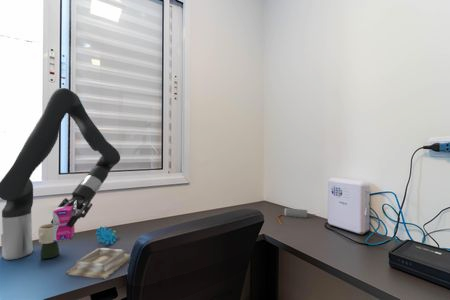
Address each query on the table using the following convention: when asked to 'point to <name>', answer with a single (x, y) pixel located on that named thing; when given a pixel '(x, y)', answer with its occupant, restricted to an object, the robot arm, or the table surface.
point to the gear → (106, 235)
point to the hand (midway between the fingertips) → (60, 225)
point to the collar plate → (99, 263)
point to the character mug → (47, 241)
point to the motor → (295, 213)
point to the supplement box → (62, 223)
